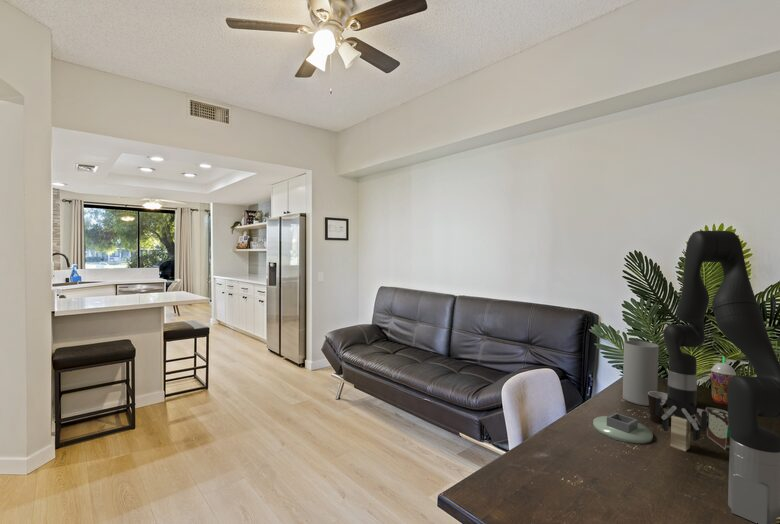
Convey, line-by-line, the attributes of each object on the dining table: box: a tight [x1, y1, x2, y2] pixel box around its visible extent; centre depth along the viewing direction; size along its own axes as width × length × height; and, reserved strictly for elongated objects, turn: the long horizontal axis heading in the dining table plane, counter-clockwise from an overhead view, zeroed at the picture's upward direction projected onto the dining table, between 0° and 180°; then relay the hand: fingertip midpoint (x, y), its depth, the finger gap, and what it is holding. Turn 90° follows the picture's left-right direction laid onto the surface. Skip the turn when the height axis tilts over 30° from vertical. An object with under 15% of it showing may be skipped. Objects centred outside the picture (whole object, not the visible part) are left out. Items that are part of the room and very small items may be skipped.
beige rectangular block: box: [670, 414, 692, 452], centre depth 122 cm, size 4×4×10 cm
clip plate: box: [592, 412, 654, 445], centre depth 133 cm, size 18×18×4 cm
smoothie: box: [710, 356, 737, 406], centre depth 162 cm, size 8×8×20 cm
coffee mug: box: [648, 391, 674, 426], centre depth 141 cm, size 12×9×10 cm
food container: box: [705, 406, 730, 451], centre depth 125 cm, size 12×6×10 cm, turn 168°
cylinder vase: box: [622, 340, 660, 407], centre depth 162 cm, size 12×12×25 cm
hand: (680, 435), depth 122 cm, fingers open, 7 cm apart
